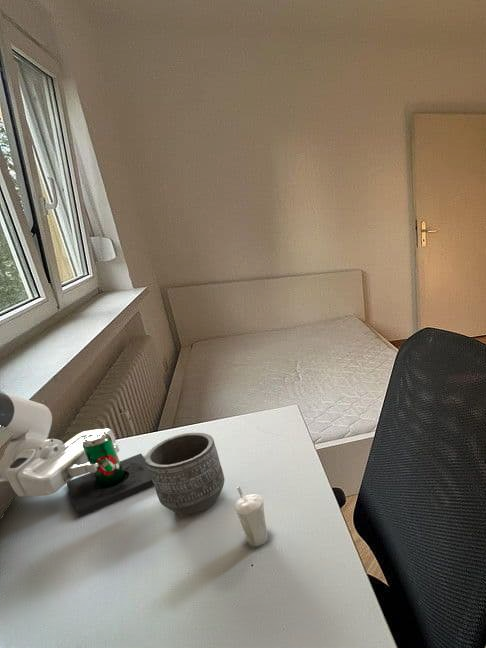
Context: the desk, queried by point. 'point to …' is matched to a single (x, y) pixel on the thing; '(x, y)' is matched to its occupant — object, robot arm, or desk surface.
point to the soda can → (104, 459)
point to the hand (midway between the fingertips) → (106, 458)
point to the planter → (186, 473)
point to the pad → (93, 498)
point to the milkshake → (252, 518)
